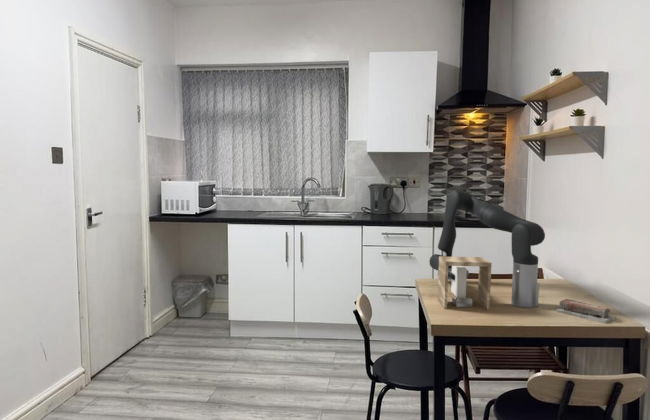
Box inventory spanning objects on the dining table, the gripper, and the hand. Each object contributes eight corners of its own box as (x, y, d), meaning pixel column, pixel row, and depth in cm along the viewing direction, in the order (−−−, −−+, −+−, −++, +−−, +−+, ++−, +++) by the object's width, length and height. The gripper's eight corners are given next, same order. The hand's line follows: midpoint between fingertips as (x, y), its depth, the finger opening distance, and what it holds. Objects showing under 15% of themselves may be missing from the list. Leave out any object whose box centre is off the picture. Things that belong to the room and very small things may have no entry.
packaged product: (556, 300, 185) (568, 296, 191) (555, 312, 185) (567, 308, 191) (606, 311, 171) (617, 307, 177) (605, 324, 171) (617, 319, 177)
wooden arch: (480, 301, 198) (481, 257, 196) (489, 309, 186) (491, 262, 185) (437, 300, 198) (439, 256, 197) (444, 308, 186) (445, 261, 185)
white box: (457, 291, 205) (459, 263, 204) (465, 298, 193) (466, 269, 192) (450, 290, 205) (451, 263, 204) (458, 298, 193) (459, 269, 192)
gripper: (433, 260, 216) (442, 268, 199) (464, 261, 216) (476, 269, 198) (432, 277, 216) (441, 286, 199) (464, 277, 216) (475, 287, 199)
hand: (458, 277), depth 199 cm, fingers closed on white box, 3 cm apart
